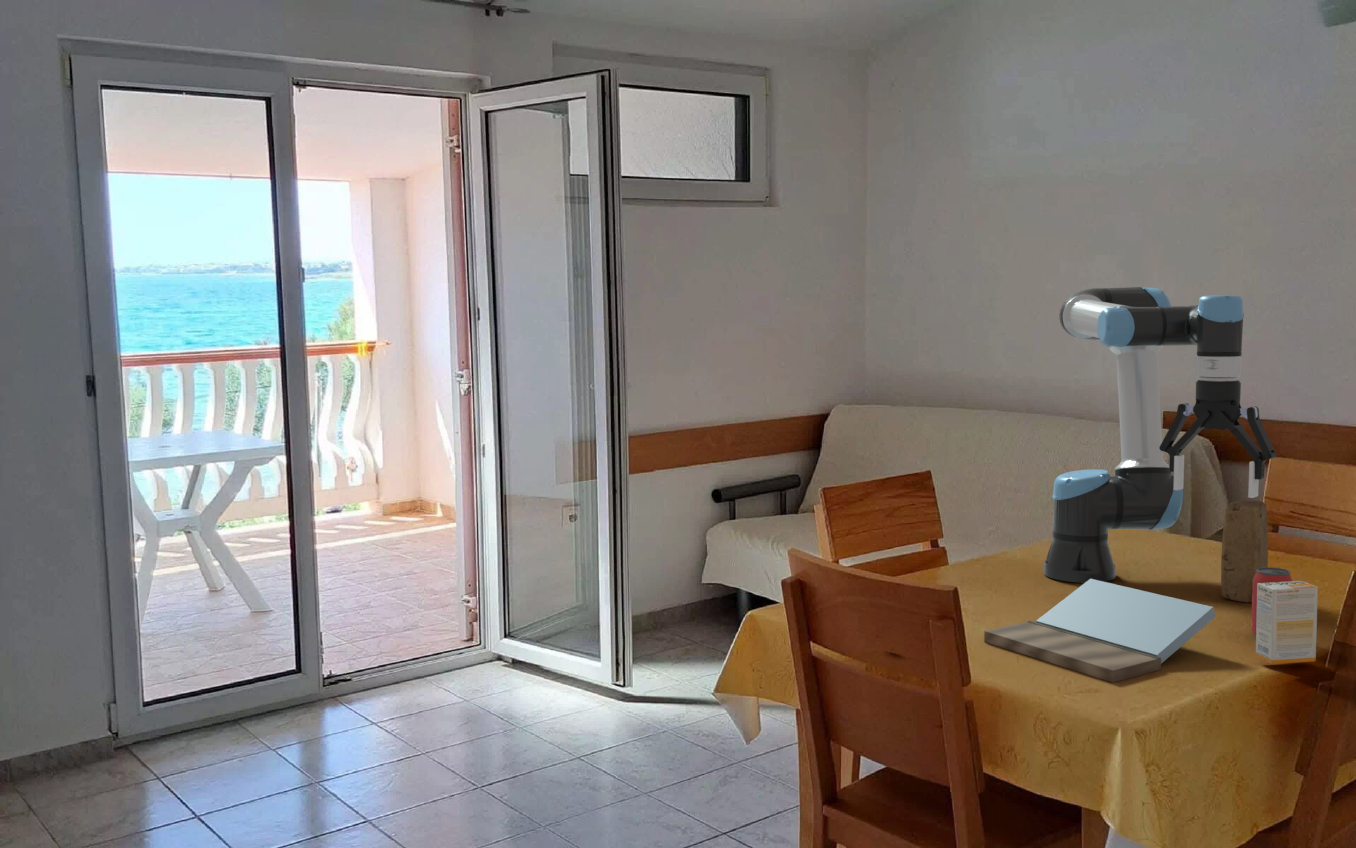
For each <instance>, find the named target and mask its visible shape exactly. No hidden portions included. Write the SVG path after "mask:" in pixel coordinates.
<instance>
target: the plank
mask: <svg viewBox="0 0 1356 848" xmlns="http://www.w3.org/2000/svg"><path fill="white" fill-rule="evenodd" d="M1215 618H1216V614H1215V609H1214V606H1210V605H1205V604H1201V603H1197V602H1194V601H1190V600H1189V601H1188V600H1185V599H1181V598H1176V597H1171V596H1167V595H1162V594H1158V593H1154V592H1150V591H1146V590H1141V589H1137V588H1133V587H1128V586H1125V585H1124V586H1123V585H1120V584H1119V585H1118V584H1115V583H1111V582H1108V581H1106V582H1103V581H1099V580H1094V579H1089V580H1088V581H1087V582H1085V583H1082V585H1080V586H1079V587H1077V588H1076V589H1075V590H1073V591H1072V592H1071V593H1070V594H1068V595H1067V596H1066V597H1065V598H1064V599H1062V600H1061V601H1059V602H1058V603H1057V604H1056V605H1054V606H1053V607H1052V608H1051V609H1049V610H1048V611H1046V613H1044V614H1043V615H1042V616H1040V617H1039V618H1037V619H1036V621H1035V622H1036V623H1040V624H1043V625H1047V626H1050V627H1054V628H1057V629H1061V630H1064V631H1068V632H1071V633H1075V634H1078V635H1082V636H1085V637H1089V638H1092V639H1096V640H1100V641H1103V642H1107V643H1110V644H1114V645H1117V646H1121V647H1124V648H1128V649H1131V650H1135V651H1138V652H1142V653H1145V654H1149V655H1152V656H1156V657H1159V658H1161V664H1163V663H1164V662H1165V661H1166V660H1168V658H1170V657H1171V656H1172V655H1173V654H1174V653H1175V652H1176V651H1178V650H1179V649H1180V648H1182V646H1183V645H1185V644H1186V643H1187V642H1188V641H1189V640H1191V638H1193V637H1194V636H1195V635H1197V633H1199V632H1200V631H1201V630H1202V629H1203V628H1205V626H1207V625H1208V624H1209V623H1210V622H1211V621H1213V619H1215Z"/></svg>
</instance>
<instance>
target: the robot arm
mask: <svg viewBox="0 0 1356 848" xmlns="http://www.w3.org/2000/svg"><path fill="white" fill-rule="evenodd" d="M1058 314H1059V315H1058V316H1059V323H1060V325H1061V328H1062V329H1063V330H1064V331H1065V332H1066V333H1067V334H1068V335H1070V336H1072V337H1075V338H1079V339H1082V340H1083V339H1084V340H1092V341H1093V340H1095V341H1096V340H1097V341H1100V343H1101V345H1103V346H1106V347H1108V350H1109V351H1110V352H1111V353H1112V354H1114V356H1115V357H1116V375H1117V393H1118V397H1117V398H1118V414H1119V415H1118V416H1119V434H1120V435H1119V436H1120V438H1119V439H1120V453H1121V454H1120V455H1121V456H1120V457H1121V461H1120V463H1119V464H1118V465H1116V467H1114V476H1111V474H1110V472H1109V471H1108V470H1105V469H1080V470H1073V471H1067V472H1064V473H1062V474H1059V475H1058V476H1057V477H1056V478H1055V479H1054V482H1053V493H1052V495H1051V497H1052V501H1053V502H1052V542H1051V544H1050V546H1049V550H1048V552H1047V555H1046V560H1045V561H1044V563H1043V574H1044V576H1046V577H1048V578H1051V579H1052V580H1053V579H1054V580H1057V581H1064V582H1068V583H1082V584H1084V583H1085V582H1087V581H1088V580H1089V579H1094V580H1099V581H1103V582H1111V581H1113V580H1115V579H1116V575H1117V572H1116V571H1117V569H1116V565H1115V564H1114V560H1113V556H1112V552H1111V549H1110V546H1109V530H1150V531H1153V530H1158V529H1167V528H1170V527H1172V526H1173V525H1174V524H1175V523H1176V522H1177V520H1178V518H1179V516H1180V513H1181V510H1182V505H1183V499H1184V497H1183V496H1184V493H1183V492H1184V491H1183V490H1184V486H1185V485H1184V480H1185V479H1184V478H1185V474H1184V473H1185V454H1182V451H1183V450H1185V448H1186V447H1187V446H1188V445H1189V444H1190V442H1192V441H1193V439H1195V437H1197V435H1198V434H1199V433H1200V432H1201V431H1202V430H1204V429H1206V430H1214V429H1216V430H1219V431H1226V430H1228V431H1229V432H1230V433H1231V434H1232V435H1233V436H1234V437H1235V438H1236V439H1237V441H1238V442H1239V443H1240V444H1241V446H1242V447H1243V448H1244V449H1245V451H1246V452H1247V453H1248V454H1249V456H1250V457H1251V458H1252V459H1253V461H1249V463H1248V465H1249V466H1248V493H1247V494H1248V495H1247V498H1251V499H1254V498H1257V497H1259V485H1260V484H1259V482H1260V480H1264V477H1265V469H1266V468H1265V467H1266V466H1265V463H1266V462H1267V460H1272V459H1275V458H1277V453H1276V450H1275V448H1274V446H1273V444H1272V442H1271V439H1270V437H1269V436H1268V433H1267V431H1266V429H1265V427H1264V425H1263V423H1262V421H1261V419H1260V411H1259V407H1258V406H1249V407H1242V406H1241V390H1242V389H1241V388H1242V383H1241V382H1240V380H1239V378H1241V376H1242V358H1243V357H1242V351H1243V350H1242V349H1243V348H1242V347H1243V328H1244V327H1243V326H1244V316H1245V313H1244V303H1243V298H1242V297H1241V296H1240V295H1238V294H1236V295H1235V294H1233V295H1232V294H1229V295H1226V294H1225V295H1224V294H1223V295H1222V294H1219V295H1217V294H1216V295H1202V296H1200V297H1199V299H1198V305H1184V306H1183V305H1180V306H1178V305H1177V306H1174V305H1173V306H1172V304H1171V302H1170V299H1169V297H1168V296H1167V294H1166V293H1165V292H1164V291H1163V290H1161V289H1160V288H1156V287H1144V286H1139V287H1137V286H1135V287H1134V286H1133V287H1112V288H1111V287H1108V288H1106V287H1105V288H1104V287H1102V288H1100V287H1099V288H1098V287H1097V288H1095V287H1093V288H1088V289H1084V290H1080V291H1078V292H1075V293H1074V294H1071V295H1070V296H1069V297H1067V298H1066V299H1065V301H1063V303H1062V305H1061V306H1060V309H1059V313H1058ZM1164 346H1166V347H1167V346H1196V371H1195V373H1196V377H1197V378H1199V379H1198V380H1197V381H1196V382H1195V404H1194V405H1193V404H1189V403H1187V402H1184V403H1179V404H1178V405H1177V411H1176V415H1175V417H1174V419H1173V421H1172V423H1171V425H1170V427H1169V429H1168V431H1167V432H1166V434H1165V436H1164V438H1163V435H1162V417H1161V416H1162V415H1161V401H1160V400H1161V399H1160V397H1161V396H1160V378H1159V362H1158V353H1159V352H1160V350H1162V348H1163V347H1164ZM1192 413H1193V414H1194V415H1195V418H1197V419H1196V420H1195V421H1194V422H1193V423H1192V424H1191V426H1190V427H1189V429H1187V431H1186V432H1185V433H1184V434H1183V435H1182V436H1181V437H1180V438H1179V439H1178V440H1177V441H1176V439H1177V438H1178V436H1179V434H1180V432H1181V430H1182V428H1183V427H1184V425H1185V423H1186V421H1187V419H1188V418H1189V416H1191V415H1192ZM1242 415H1243V416H1244V417H1243V418H1244V419H1246V420H1247V423H1248V425H1249V427H1250V429H1251V431H1252V433H1253V435H1254V438H1255V440H1256V441H1257V443H1258V445H1257V443H1256V442H1255V441H1254V440H1253V439H1252V438H1251V437H1250V435H1249V434H1248V432H1247V431H1246V430H1245V429H1244V426H1243V424H1242V423H1241V422H1240V421H1239V420H1238V419H1239V418H1241V416H1242ZM1162 438H1163V439H1162ZM1164 452H1165V453H1167V454H1168V457H1169V463H1167V462H1166V461H1165V459H1164V455H1163V454H1164ZM1172 473H1173V474H1172Z"/></svg>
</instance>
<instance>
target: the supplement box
mask: <svg viewBox="0 0 1356 848" xmlns="http://www.w3.org/2000/svg"><path fill="white" fill-rule="evenodd" d="M1318 589H1319V587H1318V586H1317V585H1314V584H1312V583H1308V582H1307V581H1306V582H1305V581H1303V580H1292V581H1289V582H1270V583H1257V621H1256V635H1255V636H1256V637H1255V639H1256V640H1255V657H1256V658H1258V659H1260V660H1262V661H1263V662H1266V663H1268V664H1270V665H1278V664H1279V665H1281V664H1292V663H1293V664H1294V663H1297V664H1298V663H1308V662H1311V663H1312V662H1316V661H1317V660H1316V659H1317V657H1316V656H1317V634H1318V632H1317V631H1318V630H1317V628H1318V627H1317V625H1318V597H1319V596H1318V593H1319V592H1318Z"/></svg>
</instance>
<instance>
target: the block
mask: <svg viewBox="0 0 1356 848" xmlns="http://www.w3.org/2000/svg"><path fill="white" fill-rule="evenodd" d="M1224 511H1225V512H1224V522H1223V526H1222V527H1223V528H1222V538H1221V539H1222V540H1221V560H1220V561H1221V564H1220V565H1221V567H1220V570H1221V571H1220V573H1221V574H1220V584H1221V586H1220V587H1221V595H1222V597H1224V598H1225V599H1226V600H1231V601H1235V602H1241V603H1252V591H1253V578H1254V576H1255V574H1256V572H1257V571H1256V569H1258V568H1261V567H1268V565H1269V525H1268V512H1267V511H1268V510H1267V504H1266V503H1265V502H1264V501H1260V500H1243V499H1237V500H1234V501H1232V502H1230V503H1229V504H1228V505H1227V506H1226V508H1225V510H1224Z"/></svg>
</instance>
